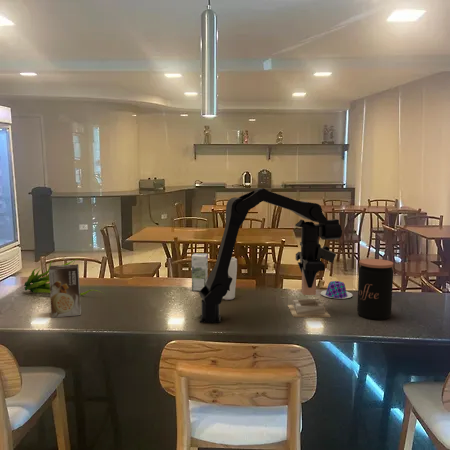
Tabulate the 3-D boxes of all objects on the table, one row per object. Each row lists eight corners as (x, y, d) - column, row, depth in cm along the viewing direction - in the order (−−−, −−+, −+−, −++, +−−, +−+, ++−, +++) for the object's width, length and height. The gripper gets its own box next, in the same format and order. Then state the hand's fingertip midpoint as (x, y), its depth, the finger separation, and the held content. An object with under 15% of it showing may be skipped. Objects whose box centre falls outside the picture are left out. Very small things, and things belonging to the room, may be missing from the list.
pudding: (332, 289, 176) (332, 277, 176) (358, 296, 167) (359, 282, 167) (314, 295, 168) (314, 282, 168) (341, 302, 159) (341, 288, 159)
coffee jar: (350, 312, 147) (352, 259, 145) (376, 308, 151) (378, 257, 149) (371, 322, 137) (373, 266, 135) (398, 318, 141) (401, 263, 139)
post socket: (330, 317, 142) (330, 308, 142) (293, 317, 142) (293, 308, 141) (321, 306, 154) (321, 297, 153) (287, 306, 154) (287, 297, 153)
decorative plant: (58, 309, 150) (56, 267, 148) (22, 293, 170) (20, 256, 168) (104, 298, 163) (103, 260, 161) (66, 284, 183) (64, 250, 181)
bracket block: (315, 294, 145) (316, 271, 144) (303, 294, 145) (304, 271, 144) (313, 291, 149) (313, 268, 148) (301, 291, 149) (302, 268, 148)
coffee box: (81, 309, 149) (79, 263, 147) (80, 315, 143) (78, 267, 141) (52, 312, 147) (50, 265, 145) (50, 318, 140) (48, 269, 139)
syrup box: (207, 287, 178) (207, 253, 176) (205, 291, 172) (205, 255, 170) (194, 287, 178) (193, 252, 177) (191, 291, 172) (191, 255, 171)
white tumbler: (237, 295, 166) (237, 257, 165) (236, 301, 160) (236, 260, 158) (219, 295, 167) (219, 256, 165) (217, 300, 160) (217, 260, 158)
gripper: (341, 244, 136) (340, 293, 138) (327, 236, 154) (325, 279, 156) (306, 244, 136) (304, 293, 137) (295, 236, 154) (294, 279, 156)
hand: (308, 285), depth 147 cm, fingers closed on bracket block, 4 cm apart
